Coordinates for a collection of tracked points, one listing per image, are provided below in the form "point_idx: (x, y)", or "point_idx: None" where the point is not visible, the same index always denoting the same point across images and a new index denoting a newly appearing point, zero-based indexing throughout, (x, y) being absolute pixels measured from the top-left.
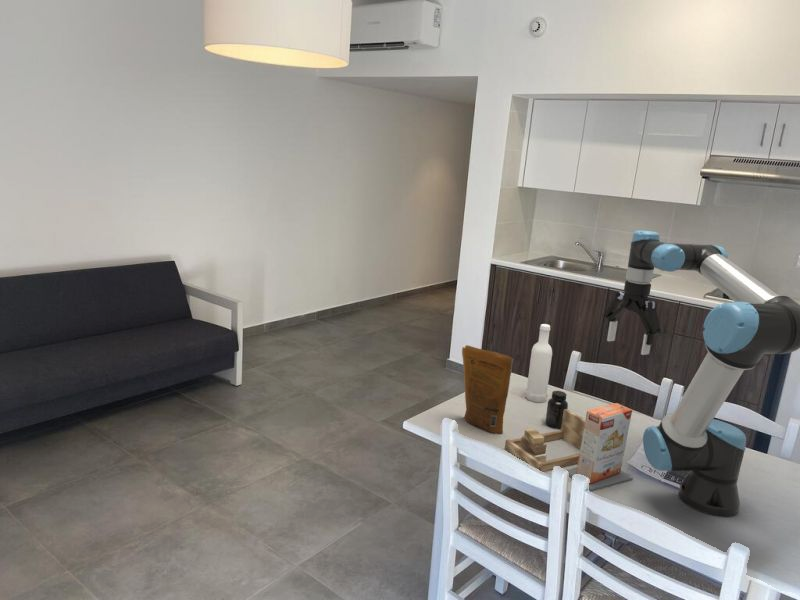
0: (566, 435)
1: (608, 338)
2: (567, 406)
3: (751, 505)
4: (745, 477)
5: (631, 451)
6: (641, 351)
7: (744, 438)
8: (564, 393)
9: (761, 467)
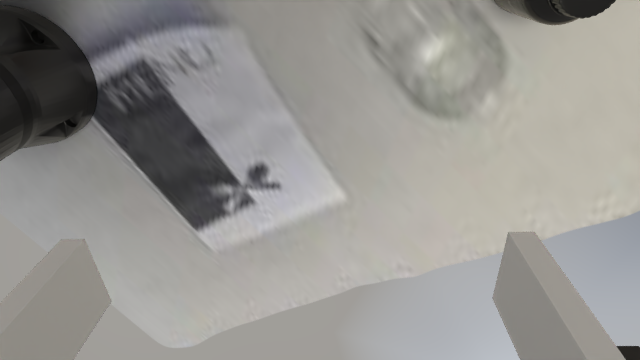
0: None
1: (530, 252)
2: (523, 4)
3: (18, 157)
4: (128, 240)
5: (287, 91)
6: (64, 258)
7: None
8: (575, 8)
9: (161, 296)
